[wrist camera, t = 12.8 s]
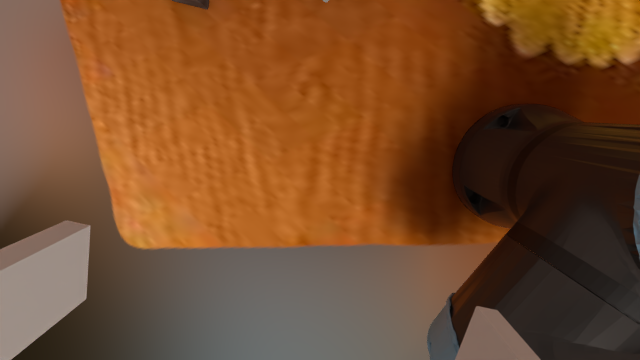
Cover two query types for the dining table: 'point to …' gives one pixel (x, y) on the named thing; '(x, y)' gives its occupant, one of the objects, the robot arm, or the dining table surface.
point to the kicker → (195, 3)
